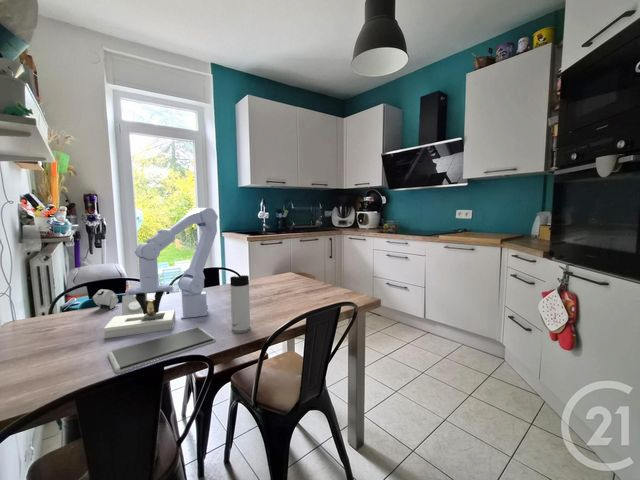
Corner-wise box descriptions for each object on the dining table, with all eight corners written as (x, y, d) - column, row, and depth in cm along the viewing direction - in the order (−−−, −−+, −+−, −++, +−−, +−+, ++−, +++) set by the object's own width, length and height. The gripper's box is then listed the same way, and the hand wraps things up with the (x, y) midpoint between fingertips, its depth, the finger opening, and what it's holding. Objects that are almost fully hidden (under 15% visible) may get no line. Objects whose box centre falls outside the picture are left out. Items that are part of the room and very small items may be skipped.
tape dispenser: (103, 311, 125) (87, 298, 118) (112, 298, 130) (98, 285, 123) (115, 312, 124) (100, 299, 117) (124, 298, 129) (110, 286, 122)
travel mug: (234, 335, 97) (232, 277, 95) (230, 328, 103) (228, 274, 101) (252, 331, 100) (250, 275, 98) (247, 325, 106) (246, 272, 104)
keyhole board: (175, 318, 112) (175, 309, 112) (172, 329, 102) (171, 319, 102) (114, 325, 105) (114, 316, 105) (104, 338, 95) (104, 328, 95)
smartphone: (216, 343, 93) (216, 338, 93) (116, 375, 74) (115, 369, 74) (200, 330, 103) (199, 326, 103) (107, 357, 84) (107, 351, 84)
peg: (162, 323, 107) (160, 298, 106) (154, 328, 102) (152, 302, 101) (149, 323, 107) (148, 298, 106) (141, 328, 102) (139, 302, 101)
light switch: (121, 320, 106) (122, 293, 116) (123, 331, 109) (123, 304, 119) (148, 316, 110) (146, 290, 120) (149, 326, 113) (147, 300, 123)
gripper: (172, 272, 109) (174, 306, 111) (127, 275, 104) (130, 311, 105) (170, 276, 103) (172, 312, 104) (122, 279, 97) (125, 318, 99)
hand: (151, 312), depth 104 cm, fingers closed on peg, 3 cm apart
